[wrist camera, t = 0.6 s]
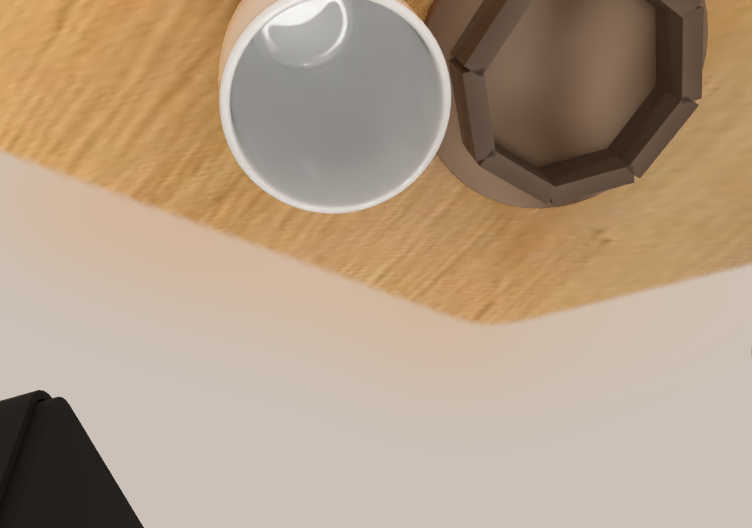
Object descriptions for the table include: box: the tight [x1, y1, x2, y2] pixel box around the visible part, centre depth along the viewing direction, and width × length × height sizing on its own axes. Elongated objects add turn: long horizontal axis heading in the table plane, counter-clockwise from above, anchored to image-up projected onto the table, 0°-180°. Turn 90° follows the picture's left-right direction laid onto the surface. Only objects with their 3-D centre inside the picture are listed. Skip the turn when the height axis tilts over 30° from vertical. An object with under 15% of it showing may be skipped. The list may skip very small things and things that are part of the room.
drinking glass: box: [218, 0, 451, 213], centre depth 26 cm, size 7×7×15 cm
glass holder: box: [425, 0, 708, 208], centre depth 35 cm, size 15×15×4 cm
